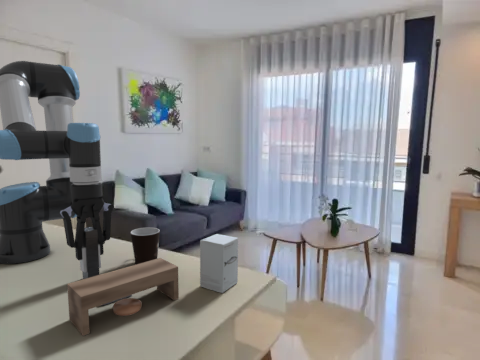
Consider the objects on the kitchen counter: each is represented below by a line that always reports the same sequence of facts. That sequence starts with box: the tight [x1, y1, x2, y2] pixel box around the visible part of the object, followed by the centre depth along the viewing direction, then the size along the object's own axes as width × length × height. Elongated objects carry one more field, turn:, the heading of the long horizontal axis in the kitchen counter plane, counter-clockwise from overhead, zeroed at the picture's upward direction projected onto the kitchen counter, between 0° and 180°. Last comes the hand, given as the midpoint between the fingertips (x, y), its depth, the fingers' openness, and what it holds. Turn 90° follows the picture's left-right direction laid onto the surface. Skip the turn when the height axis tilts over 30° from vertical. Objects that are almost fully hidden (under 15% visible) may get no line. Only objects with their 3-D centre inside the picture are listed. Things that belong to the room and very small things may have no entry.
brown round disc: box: [112, 297, 142, 317], centre depth 75 cm, size 6×6×1 cm
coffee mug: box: [130, 227, 161, 265], centre depth 103 cm, size 12×9×10 cm
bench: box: [66, 257, 180, 337], centre depth 75 cm, size 8×22×8 cm, turn 134°
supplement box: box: [199, 233, 239, 294], centre depth 87 cm, size 7×7×13 cm
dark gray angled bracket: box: [81, 226, 133, 307], centre depth 84 cm, size 18×7×14 cm, turn 44°
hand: (90, 268), depth 90 cm, fingers closed on dark gray angled bracket, 3 cm apart
